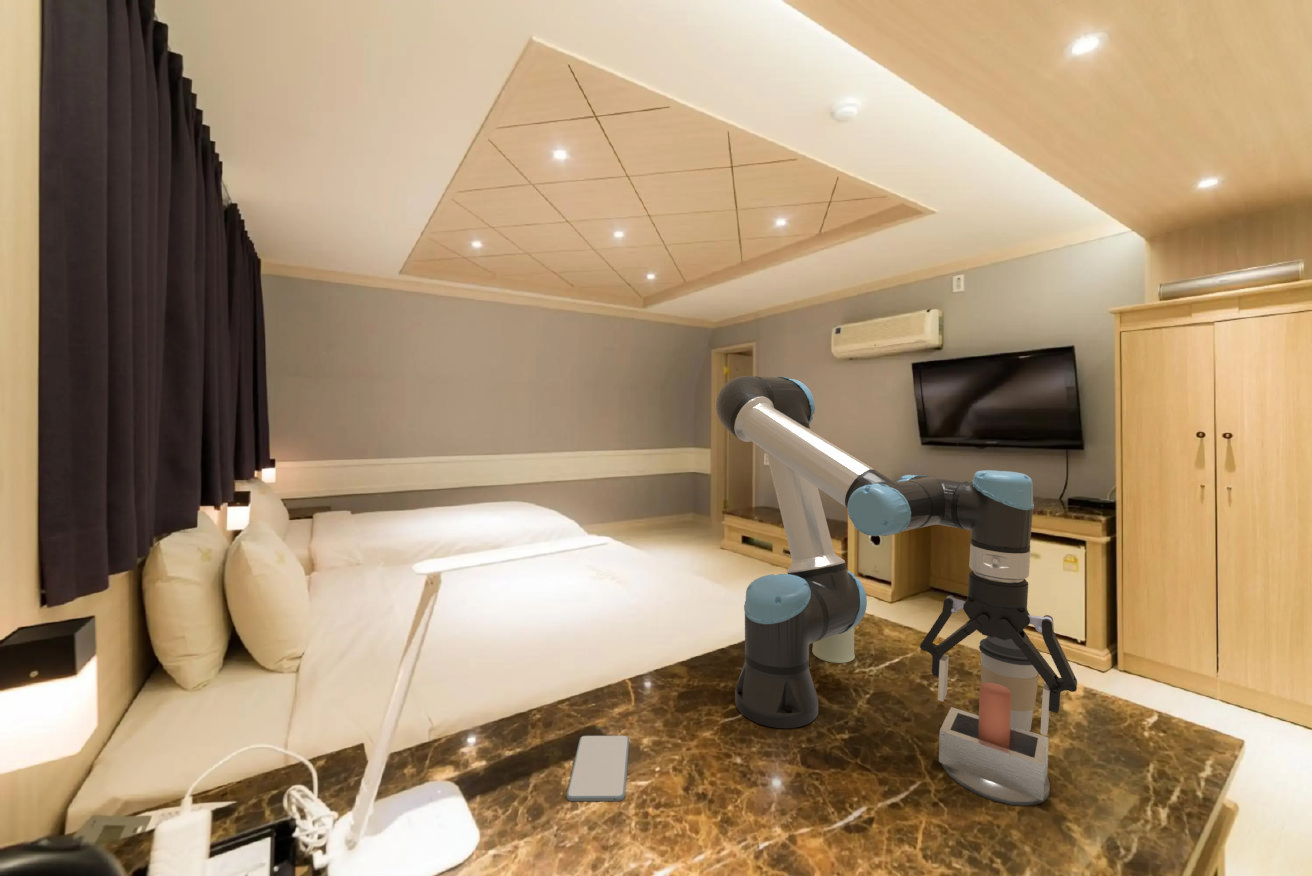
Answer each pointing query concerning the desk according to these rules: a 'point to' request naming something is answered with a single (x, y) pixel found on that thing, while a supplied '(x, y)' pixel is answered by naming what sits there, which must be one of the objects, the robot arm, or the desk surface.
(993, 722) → the pin
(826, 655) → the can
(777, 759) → the desk surface
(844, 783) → the desk surface
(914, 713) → the desk surface
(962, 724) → the rosette bracket
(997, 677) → the coffee cup
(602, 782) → the smartphone
